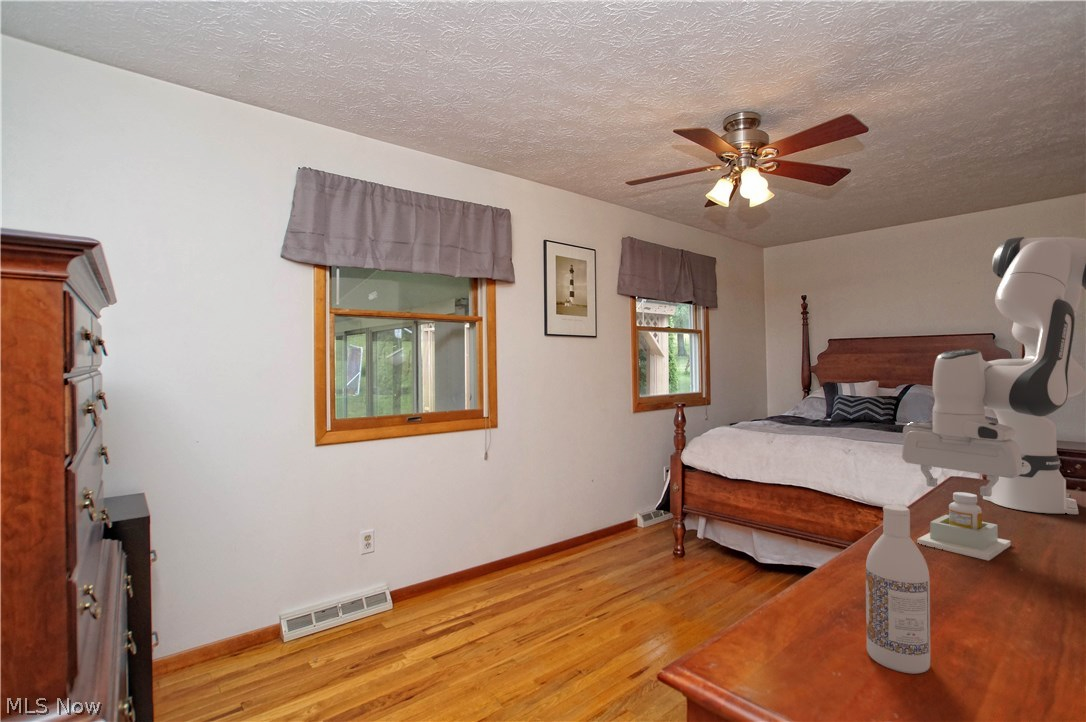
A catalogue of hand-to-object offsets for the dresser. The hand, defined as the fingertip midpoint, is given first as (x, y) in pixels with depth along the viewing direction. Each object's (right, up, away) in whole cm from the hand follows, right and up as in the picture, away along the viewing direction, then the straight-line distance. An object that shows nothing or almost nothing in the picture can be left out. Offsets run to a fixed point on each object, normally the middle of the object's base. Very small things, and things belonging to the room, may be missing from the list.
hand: (957, 490), depth 112 cm
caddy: (0, -11, -1) cm, 11 cm away
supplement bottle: (+1, -10, -1) cm, 10 cm away
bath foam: (-42, -12, -43) cm, 61 cm away
